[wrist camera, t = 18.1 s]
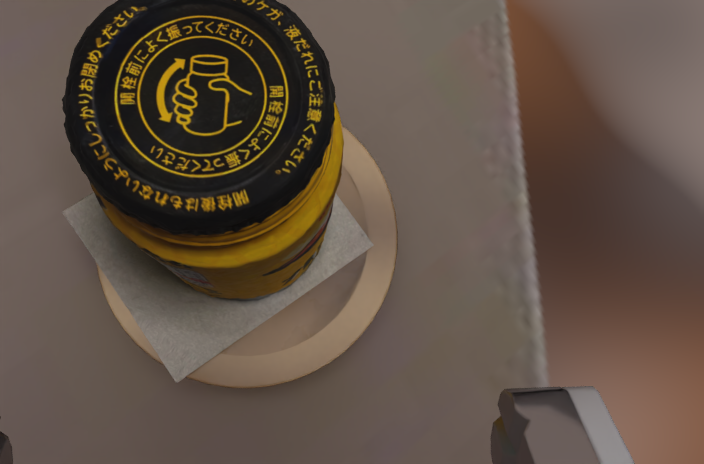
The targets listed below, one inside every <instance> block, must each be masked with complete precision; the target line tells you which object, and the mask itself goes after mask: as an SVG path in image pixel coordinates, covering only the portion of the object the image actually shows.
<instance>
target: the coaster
mask: <svg viewBox="0 0 704 464" xmlns="http://www.w3.org/2000/svg"><path fill="white" fill-rule="evenodd" d="M341 126H342V125H341ZM342 132H343V139H344V147H343V160H342V171H341V173H342V175H341V178H340V183H339V185H338V188H337V190H336V194H337V196H338V197H339V198H340V200H341V201H342V203H343V204H344V205H345V206H346V208H347V209H348V210H349V212H350V213H351V215H352V216H353V217H354V218H355V220H356V221H357V223H358V224H359V226H360V227H361V228H362V230H363V231H364V232H365V234H366V235H367V237H368V238H369V239H370V241H371V242H372V243H373V245H374V246H372V247H371V248H369V249H368V250H367V251H365V252H364V253H362V254H361V255H360V256H358V257H357V258H355V259H354V260H352V261H351V262H350V263H348V264H347V265H345V266H344V267H342V268H341V269H339V270H338V271H337V272H335V273H334V274H332V275H331V276H330V277H328V278H327V279H325V280H324V281H322V282H321V283H319V284H318V285H317V286H315V287H314V288H312V289H311V290H309V291H308V292H306V293H305V294H304V295H302V296H301V297H299V298H298V299H297V300H295V301H294V302H292V303H291V304H289V305H288V306H286V307H285V308H284V309H282V310H281V311H279V312H278V313H276V314H275V315H273V316H272V317H271V318H269V319H268V320H266V321H265V322H263V323H262V324H260V325H259V326H258V327H256V328H255V329H253V330H252V331H250V332H249V333H247V334H246V335H245V336H243V337H242V338H240V339H239V340H237V341H236V342H234V343H233V344H232V345H230V346H229V347H227V348H226V349H224V350H223V351H222V352H220V353H219V354H217V355H216V356H215V357H213V358H212V359H210V360H209V361H207V362H206V363H204V364H203V365H202V366H200V367H199V368H197V369H196V370H194V371H193V372H192V373H190V374H189V375H187V376H186V377H187V378H189V379H193V380H196V381H199V382H203V383H206V384H209V385H215V386H222V387H228V388H258V387H268V386H274V385H278V384H282V383H286V382H290V381H293V380H296V379H298V378H301V377H303V376H306V375H308V374H311V373H313V372H314V371H316V370H318V369H320V368H322V367H323V366H325V365H327V364H329V363H330V362H331V361H333V360H334V359H336V358H337V357H338V356H340V355H341V354H342V353H344V352H345V351H346V350H347V349H348V348H349V347H350V346H351V345H352V344H353V343H354V342H355V341H356V340H357V339H358V338H359V337H360V336H361V335H362V334H363V332H364V331H365V330H366V329H367V327H368V326H369V325H370V324H371V322H372V320H373V319H374V317H375V316H376V314H377V312H378V311H379V309H380V307H381V305H382V303H383V301H384V299H385V296H386V294H387V292H388V289H389V287H390V283H391V280H392V276H393V273H394V269H395V262H396V256H397V236H398V231H397V223H396V214H395V209H394V206H393V202H392V198H391V194H390V192H389V189H388V187H387V184H386V181H385V179H384V177H383V175H382V173H381V171H380V170H379V168H378V166H377V164H376V162H375V161H374V159H373V158H372V157H371V155H370V154H369V153H368V151H367V150H366V149H365V147H364V146H363V145H362V144H361V143H360V142H359V141H358V140H357V139H356V138H355V137H354V136H353V134H352V133H350V132H349V131H348V130H347V129H346V128H344V127H343V126H342ZM96 264H97V263H96ZM97 270H98V275H99V279H100V282H101V285H102V289H103V292H104V295H105V297H106V299H107V301H108V304H109V306H110V308H111V310H112V312H113V314H114V315H115V317H116V318H117V320H118V321H119V323H120V324H121V326H122V327H123V329H124V330H125V332H126V333H127V334H128V335H129V336H130V337H131V338H132V339H133V341H134V342H135V343H136V344H137V345H138V346H139V347H140V348H141V349H142V350H144V351H145V352H146V353H147V354H148V355H150V356H151V357H152V358H153V359H154V360H156V361H158V362H159V363H161V364H162V365H164V364H163V362H162V361H161V359H160V358H159V356H158V354H157V352H156V351H155V350H154V348H153V347H152V345H151V344H150V342H149V341H148V339H147V338H146V336H145V335H144V333H143V332H142V330H141V328H140V327H139V326H138V324H137V323H136V321H135V319H134V318H133V316H132V315H131V313H130V311H129V309H128V308H127V307H126V306H125V304H124V303H123V301H122V300H121V298H120V297H119V295H118V294H117V292H116V291H115V289H114V288H113V286H112V285H111V283H110V282H109V280H108V279H107V277H106V276H105V274H104V273H103V272H102V270H101V269H100V267H99V265H98V264H97ZM164 366H165V365H164Z"/></svg>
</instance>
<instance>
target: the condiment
mask: <svg viewBox="0 0 704 464" xmlns="http://www.w3.org/2000/svg"><path fill="white" fill-rule="evenodd" d="M62 101H63V111H64V113H65V115H66V117H65V123H64V127H65V130H66V135H67V138H68V140H69V142H70V149H71V152H72V153H73V155H74V156H75V157H76V159H77V161H78V163H79V164H80V166H81V169H82V171H83V172H84V173H85V174H86V175H87V177H88V179H89V181H90V184H91V187H92V189H93V191H94V193H92V194H90V195H89V196H87V197H85V198H83V199H82V200H81V201H79V202H78V203H76V204H74V205H73V206H71V207H70V208H68V209H66V210H65V211H63V214H64V216H65V217H66V218H67V220H68V221H69V223H70V224H71V226H72V227H73V229H74V230H75V231H76V233H77V234H78V236H79V237H80V239H81V240H82V242H83V243H84V245H85V246H86V248H87V249H88V251H89V252H90V254H91V255H92V256H93V258H94V260H95V261H96V263H97V264H98V265H99V267H100V269H101V270H102V272H103V273H104V274H105V276H106V277H107V279H108V280H109V282H110V283H111V285H112V286H113V288H114V289H115V291H116V292H117V294H118V295H119V297H120V298H121V300H122V301H123V303H124V304H125V306H126V307H127V308H128V309H129V311H130V313H131V315H132V316H133V318H134V319H135V321H136V323H137V324H138V326H139V327H140V328H141V330H142V332H143V333H144V335H145V336H146V338H147V339H148V341H149V342H150V344H151V345H152V347H153V348H154V350H155V351H156V352H157V354H158V356H159V358H160V359H161V361H162V362H163V364H164V365H165V367H166V368H167V370H168V371H169V373H170V374H171V376H172V377H173V379H174V380H175V382H176V383H177V382H179V381H180V380H182V379H183V378H184V377H186V376H187V375H189V374H190V373H192V372H193V371H194V370H196V369H197V368H199V367H200V366H202V365H203V364H204V363H206V362H207V361H209V360H210V359H212V358H213V357H215V356H216V355H217V354H219V353H220V352H222V351H223V350H224V349H226V348H227V347H229V346H230V345H232V344H233V343H234V342H236V341H237V340H239V339H240V338H242V337H243V336H245V335H246V334H247V333H249V332H250V331H252V330H253V329H255V328H256V327H258V326H259V325H260V324H262V323H263V322H265V321H266V320H268V319H269V318H271V317H272V316H273V315H275V314H276V313H278V312H279V311H281V310H282V309H284V308H285V307H286V306H288V305H289V304H291V303H292V302H294V301H295V300H297V299H298V298H299V297H301V296H302V295H304V294H305V293H306V292H308V291H309V290H311V289H312V288H314V287H315V286H317V285H318V284H319V283H321V282H322V281H324V280H325V279H327V278H328V277H330V276H331V275H332V274H334V273H335V272H337V271H338V270H339V269H341V268H342V267H344V266H345V265H347V264H348V263H350V262H351V261H352V260H354V259H355V258H357V257H358V256H360V255H361V254H362V253H364V252H365V251H367V250H368V249H369V248H371V247H372V246H374V245H373V243H372V242H371V241H370V239H369V238H368V237H367V235H366V234H365V232H364V231H363V230H362V228H361V227H360V226H359V224H358V223H357V221H356V220H355V218H354V217H353V216H352V215H351V213H350V212H349V210H348V209H347V208H346V206H345V205H344V204H343V203H342V201H341V200H340V198H339V197H338V196H337V194H336V190H337V188H338V185H339V183H340V178H341V175H342V173H341V171H342V160H343V147H344V139H343V132H342V126H341V120H340V116H339V112H338V109H337V106H336V104H335V102H334V101H335V87H334V84H333V82H332V79H331V76H330V68H329V62H328V60H327V58H326V56H325V53H324V51H323V50H322V48H321V47H320V46H319V44H318V43H317V41H316V40H315V39H314V37H313V36H312V33H311V32H310V30H309V29H308V28H307V27H306V26H305V24H304V23H303V22H302V20H301V19H300V18H299V17H298V16H297V15H296V13H294V12H292V11H291V10H290V9H289V8H288V7H287V6H286V5H284V4H281V3H279V2H277V1H276V0H118V1H117V2H115V3H114V4H112V5H110V6H109V7H107V8H106V9H105V10H104V11H103V12H102V13H101V14H100V15H99V16H98V17H97V18H96V19H95V20H94V21H93V23H92V24H91V25H90V26H88V27H87V28H86V30H85V32H84V34H83V35H82V37H81V39H80V41H79V42H78V44H77V45H76V47H75V49H74V53H73V56H72V59H71V64H70V69H69V75H68V77H67V80H66V91H65V95H64V97H63V99H62Z"/></svg>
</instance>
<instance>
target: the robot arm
mask: <svg viewBox="0 0 704 464" xmlns="http://www.w3.org/2000/svg"><path fill="white" fill-rule="evenodd" d="M498 407H499V410H500V414H501V417H499V418H498V419H497V420H496V421H495V422H494V423H493V427H492V432H491V457H492V463H493V464H635V463H634V461H633V459H632V457H631V455H630V453H629V451H628V449H627V447H626V445H625V443H624V441H623V439H622V437H621V436H620V433H619V431H618V430H617V428H616V426H615V424H614V422H613V420H612V418H611V416H610V414H609V412H608V410H607V408H606V406H605V404H604V402H603V400H602V398H601V396H600V394H599V392H598V391H597V390H596V389H595V388H594V387H593V386H585V387H562V388H561V387H542V388H515V389H504V390H503V391H502V392H501V394H500V397H499V401H498ZM0 418H1V417H0ZM0 464H13V454H12V446H11V444H10V441H9V438H8V436H6V435H5V434H3V433H2V432H0Z"/></svg>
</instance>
